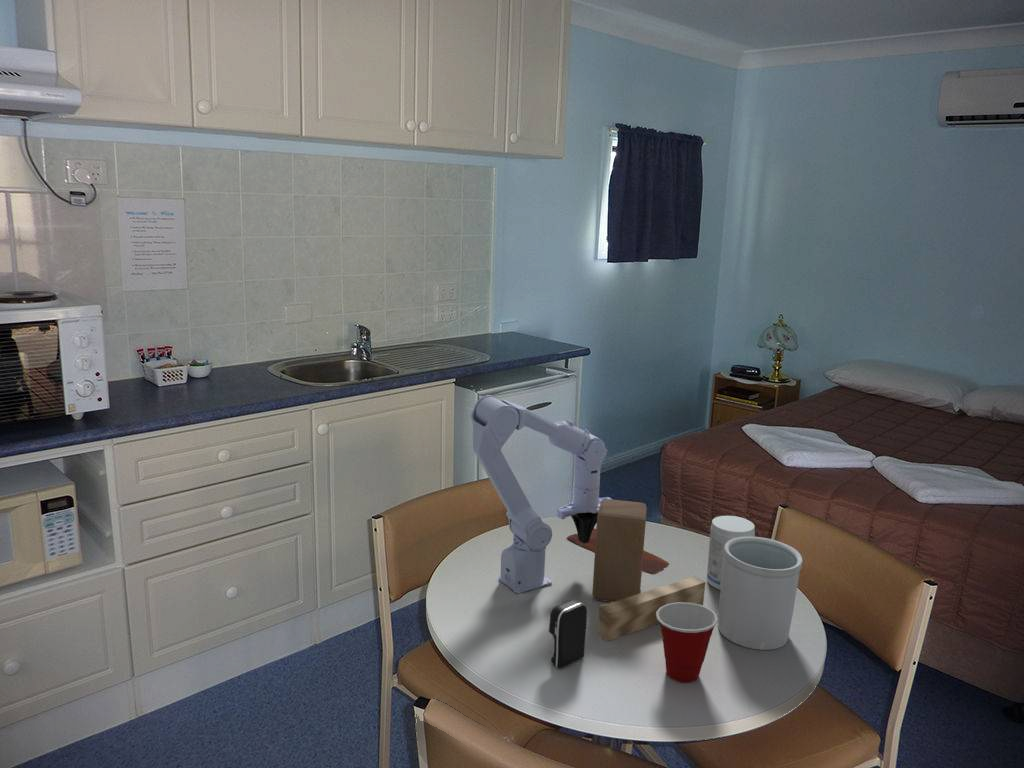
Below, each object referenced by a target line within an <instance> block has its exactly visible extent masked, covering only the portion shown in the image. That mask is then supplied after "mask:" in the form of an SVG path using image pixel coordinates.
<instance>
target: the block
mask: <svg viewBox="0 0 1024 768" xmlns="http://www.w3.org/2000/svg"><path fill="white" fill-rule="evenodd" d="M647 510H648V507H647V505H646V503H643V502H641V501H640V502H638V501H629V500H619V499H613V500H612V498H611V499H603V500H602V501H601V504H600V507H599V511H598V515H597V523H596V528H595V529H596V543H595V552H594V559H593V562H594V563H593V575H592V592H591V595H592V599H594V600H596V601H601V602H603V601H604V602H609V603H612V602H615V601H618V600H621V599H624V598H628V597H631V596H634V595H637V594H640V593H641V587H642V572H643V571H642V563H643V550H644V549H645V538H646V536H645V534H646V523H647V522H646V521H647ZM644 551H645V550H644Z"/></svg>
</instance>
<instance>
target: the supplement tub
mask: <svg viewBox="0 0 1024 768" xmlns="http://www.w3.org/2000/svg"><path fill="white" fill-rule="evenodd" d="M755 527H756V526H755V524H754V522H752V521H751V520H748V519H747V518H744V517H739V516H735V515H719V516H716V517H713V519H712V521H711V526H710V532H709V533H710V534H709V545H708V546H709V547H708V558H707V568H706V569H707V572H706V579H707V580H706V581H707V582H708V584H709V585H710V586H712V587H713V588H715V589H717V590H719V591H721V584H722V574H723V566H724V558H725V555H724V547H725V544H726V543H727V542H728V541H729V540H731V539H734V538H737V537H756V531H755Z"/></svg>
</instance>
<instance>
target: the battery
mask: <svg viewBox="0 0 1024 768" xmlns="http://www.w3.org/2000/svg"><path fill="white" fill-rule="evenodd" d="M587 618H588V608H587V606H586V605H585V604H584V603H583V602H579V601H578V600H576V599H570V600H566V601H565V602H562V603H559V604H558V605H556V606H555V607H553V608H552V609H551V611H550V615H549V626H548V627H549V629H548V631H549V634H551V635H552V636H553V641H554V642H553V643H554V644H553V645H554V646H553V649H554V652H553V656H552V657H551V658H550V662H551V664H552V665H554V667H556V668H557V669H560V670H561V669H563V668H565V667H567V666H571V665H572V664H573V663H576V662H578V661H579V660H580V659H583V658H584V657H585V646H586V645H585V644H586V634H587V621H588V619H587Z"/></svg>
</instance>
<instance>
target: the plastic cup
mask: <svg viewBox="0 0 1024 768" xmlns="http://www.w3.org/2000/svg"><path fill="white" fill-rule="evenodd" d="M656 615H657V620H658V621H659V623H658V624H659V625H660V626H659V627H660V630H661V635H662V643H663V653H664V659H665V660H664V661H665V670H666V674H667V675H668V677H669V678H671V679H672V680H674V681H676V682H678V683H686V684H687V683H693V682H695V681H697V680H698V677H699V676H700V673H701V670H702V666H703V663H704V662H705V658H706V654H707V651H708V648H709V643H710V639H711V637H712V635H713V631H714V629H715V626H716V624H718V615H717V613H715V612H714V611H713V610H712V609H711V608H709V607H706V606H704V605H703V606H702V605H699V604H694V603H685V602H677V603H671V604H666V605H664V606H662V607H660V608H659V609H658V611H657V612H656Z"/></svg>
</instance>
